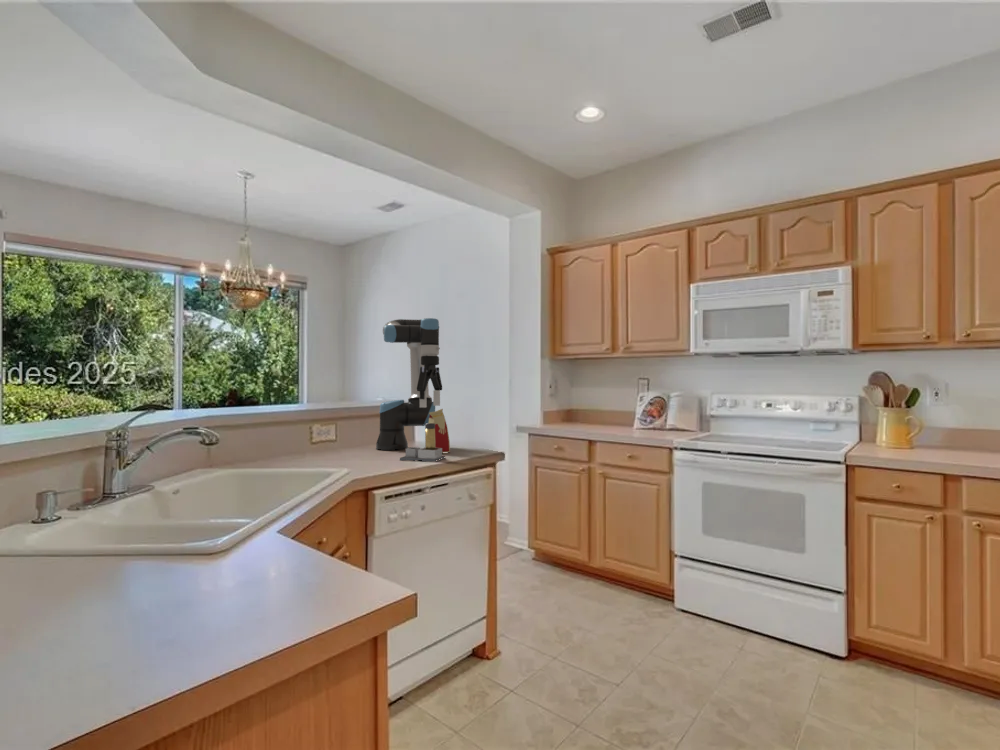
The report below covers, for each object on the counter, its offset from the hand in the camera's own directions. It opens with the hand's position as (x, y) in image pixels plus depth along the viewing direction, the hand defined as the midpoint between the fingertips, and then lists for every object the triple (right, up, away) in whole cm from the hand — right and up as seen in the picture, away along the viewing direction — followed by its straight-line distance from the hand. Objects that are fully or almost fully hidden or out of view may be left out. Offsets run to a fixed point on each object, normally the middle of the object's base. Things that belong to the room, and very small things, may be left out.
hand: (430, 406), depth 215 cm
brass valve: (0, -21, 0) cm, 21 cm away
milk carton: (+1, -23, +20) cm, 30 cm away
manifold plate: (-3, -22, +1) cm, 22 cm away
